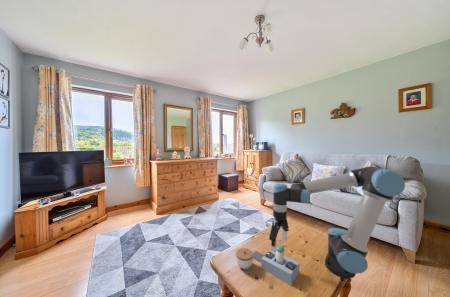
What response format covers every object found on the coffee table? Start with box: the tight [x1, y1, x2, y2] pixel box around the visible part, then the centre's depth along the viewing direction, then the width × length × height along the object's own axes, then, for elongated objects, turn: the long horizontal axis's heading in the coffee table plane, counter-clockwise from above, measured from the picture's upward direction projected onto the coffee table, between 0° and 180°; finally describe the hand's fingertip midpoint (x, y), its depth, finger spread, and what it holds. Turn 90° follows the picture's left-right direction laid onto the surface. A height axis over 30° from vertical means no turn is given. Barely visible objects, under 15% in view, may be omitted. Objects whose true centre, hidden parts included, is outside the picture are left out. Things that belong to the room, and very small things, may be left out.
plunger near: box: [288, 262, 294, 271], centre depth 92 cm, size 3×3×4 cm
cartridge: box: [276, 245, 285, 266], centre depth 97 cm, size 5×5×11 cm
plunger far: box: [266, 251, 272, 259], centre depth 101 cm, size 3×3×4 cm
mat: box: [253, 250, 265, 262], centre depth 109 cm, size 7×7×1 cm
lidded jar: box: [235, 247, 254, 270], centre depth 101 cm, size 11×11×9 cm
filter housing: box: [260, 249, 300, 286], centre depth 97 cm, size 12×18×6 cm, turn 46°
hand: (279, 246), depth 97 cm, fingers open, 13 cm apart
